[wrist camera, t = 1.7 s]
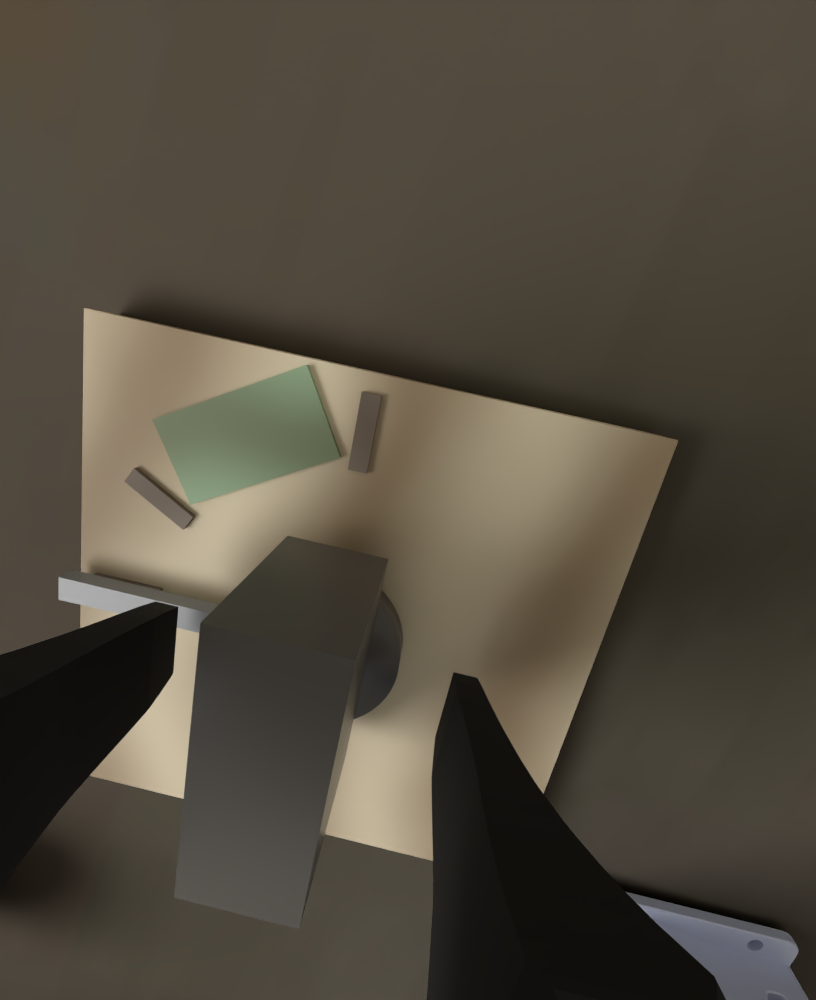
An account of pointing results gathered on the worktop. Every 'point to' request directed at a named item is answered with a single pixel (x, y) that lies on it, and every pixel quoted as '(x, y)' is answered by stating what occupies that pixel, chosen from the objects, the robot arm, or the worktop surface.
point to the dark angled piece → (270, 715)
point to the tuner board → (361, 537)
